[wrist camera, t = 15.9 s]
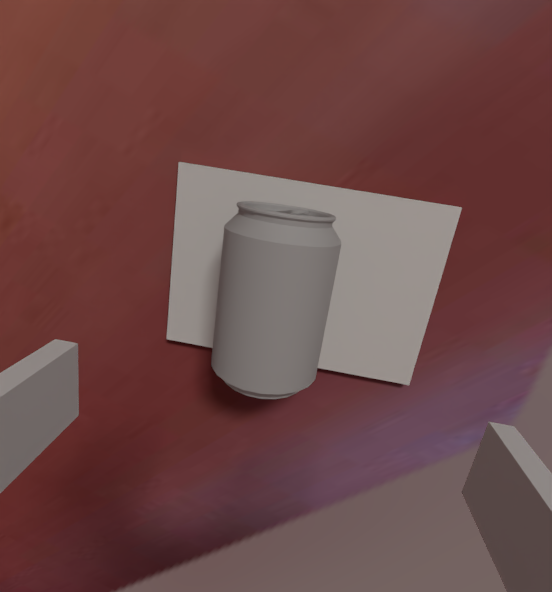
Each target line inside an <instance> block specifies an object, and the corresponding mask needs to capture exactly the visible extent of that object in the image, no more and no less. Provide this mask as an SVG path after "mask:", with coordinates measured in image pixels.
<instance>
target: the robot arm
mask: <svg viewBox="0 0 552 592" xmlns="http://www.w3.org/2000/svg"><path fill="white" fill-rule="evenodd" d="M78 415H79V399H78V343H73V342H67V341H62V340H57V339H55V340H53V341H52V342H50V343H48V344H47V345H45V346H43V347H42V348H40V349H39V350H37V351H35V352H34V353H32V354H30V355H29V356H27V357H26V358H24V359H22V360H21V361H19V362H17V363H16V364H14V365H13V366H11V367H9V368H8V369H6V370H5V371H3V372H1V373H0V493H1V492H2V491H3V490H4V489H5V488H6V487H7V486H8V485H9V484H10V483H11V482H12V481H13V480H14V479H15V478H16V477H17V476H18V475H19V474H20V473H21V472H22V471H23V470H24V469H25V468H26V467H27V466H28V465H29V464H30V463H31V462H32V461H33V460H34V459H35V458H36V457H37V456H38V455H39V454H40V453H41V452H42V451H43V450H44V449H45V448H46V447H47V446H48V445H49V444H50V443H51V442H52V441H53V440H54V439H55V438H56V437H57V436H58V435H59V434H60V433H61V432H62V431H63V430H64V429H65V428H66V427H67V426H68V425H69V424H70V423H71V422H72V421H73V420H74V419H75V418H76V417H77V416H78ZM462 494H463V496H464V498H465V501H466V503H467V505H468V507H469V509H470V512H471V514H472V516H473V518H474V520H475V522H476V525H477V527H478V529H479V531H480V533H481V536H482V538H483V540H484V542H485V544H486V547H487V549H488V551H489V553H490V555H491V557H492V560H493V562H494V564H495V566H496V568H497V571H498V572H499V575H500V577H501V579H502V582H503V584H504V586H505V588H506V590H507V592H552V474H551V472H550V471H549V470H548V469H547V467H546V466H545V465H544V463H543V462H542V461H541V460H540V458H539V457H538V456H537V455H536V453H535V452H534V451H533V450H532V448H531V447H530V446H529V444H528V443H527V442H526V441H525V439H524V438H523V437H522V436H521V434H520V433H519V432H518V431H517V429H516V428H515V427H514V426H508V425H503V424H498V423H493V422H489V423H488V425H487V428H486V430H485V433H484V436H483V438H482V441H481V443H480V446H479V449H478V451H477V454H476V457H475V459H474V462H473V464H472V467H471V469H470V472H469V475H468V477H467V480H466V482H465V485H464V487H463V490H462Z"/></svg>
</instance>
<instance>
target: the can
mask: <svg viewBox="0 0 552 592" xmlns="http://www.w3.org/2000/svg"><path fill="white" fill-rule="evenodd" d="M237 207H238V208H239V210H238V213H237V214H236V215H235V216H234V217H233V218H232V219H231V220H229V221H228V222H227V223H226V224H225V225H224V235H223V246H222V256H221V266H220V277H219V287H218V297H217V308H216V318H215V328H214V339H213V349H212V362H211V366H212V368H213V370H214V371H215V373H216V375H218V376H219V377H220V378H221V379H223V380H224V382H225V383H226V384H227V385H228V386H229V387H231V388H232V389H233V390H235V391H237V392H239V393H242V394H244V395H246V396H250V397H255V398H259V399H280V398H286V397H289V396H291V395H293V394H296V393H297V392H298V391H300V390H302V389H305V388H307V387H309V386H310V385H311V384H312V382H313V381H314V380H315V378H316V373H317V368H318V362H319V357H320V352H321V347H322V342H323V337H324V332H325V326H326V321H327V316H328V311H329V306H330V301H331V296H332V290H333V285H334V280H335V275H336V270H337V265H338V260H339V254H340V249H341V243H342V242H341V240H340V238H339V237H338V235H337V233H336V232H335V230H334V228H333V227H332V224H333V222H334V221H336V217H335V216H334V215H332V214H329V213H325V212H322V211H317V210H313V209H307V208H302V207H296V206H290V205H283V204H275V203H266V202H254V201H241V202H238V203H237Z"/></svg>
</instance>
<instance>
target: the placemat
mask: <svg viewBox="0 0 552 592" xmlns="http://www.w3.org/2000/svg"><path fill="white" fill-rule="evenodd" d="M241 201H254V202H266V203H275V204H283V205H290V206H296V207H302V208H307V209H313V210H317V211H322V212H325V213H329V214H332V215H334V216H335V217H336V221H334V222H333V224H332V227H333V228H334V230H335V232H336V233H337V235H338V237H339V238H340V240H341V242H342V243H341V249H340V254H339V260H338V265H337V270H336V275H335V280H334V285H333V290H332V296H331V301H330V306H329V311H328V316H327V321H326V326H325V332H324V337H323V342H322V347H321V352H320V357H319V362H318V368H321V369H326V370H331V371H337V372H342V373H347V374H352V375H358V376H363V377H368V378H373V379H379V380H384V381H389V382H395V383H400V384H405V385H409V384H410V380H411V377H412V374H413V370H414V367H415V364H416V360H417V357H418V354H419V350H420V347H421V344H422V340H423V337H424V333H425V330H426V327H427V323H428V320H429V317H430V313H431V310H432V307H433V303H434V300H435V297H436V293H437V290H438V287H439V283H440V280H441V277H442V273H443V270H444V266H445V263H446V260H447V256H448V253H449V250H450V246H451V243H452V240H453V236H454V233H455V230H456V226H457V223H458V220H459V216H460V213H461V210H462V208H461V207H456V206H450V205H444V204H438V203H431V202H425V201H419V200H413V199H407V198H400V197H394V196H388V195H382V194H376V193H370V192H363V191H357V190H351V189H345V188H339V187H332V186H326V185H320V184H314V183H308V182H301V181H295V180H289V179H283V178H277V177H270V176H264V175H258V174H252V173H246V172H240V171H233V170H227V169H221V168H215V167H209V166H202V165H196V164H190V163H184V162H179V166H178V180H177V195H176V209H175V224H174V238H173V253H172V268H171V282H170V297H169V311H168V326H167V339H168V340H173V341H179V342H184V343H189V344H194V345H200V346H205V347H210V348H213V339H214V328H215V318H216V308H217V297H218V287H219V277H220V266H221V256H222V246H223V235H224V225H225V224H226V223H227V222H228V221H229V220H231V219H232V218H233V217H234V216H235V215H236V214H237V213H238V210H239V208H238V207H237V203H238V202H241Z"/></svg>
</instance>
